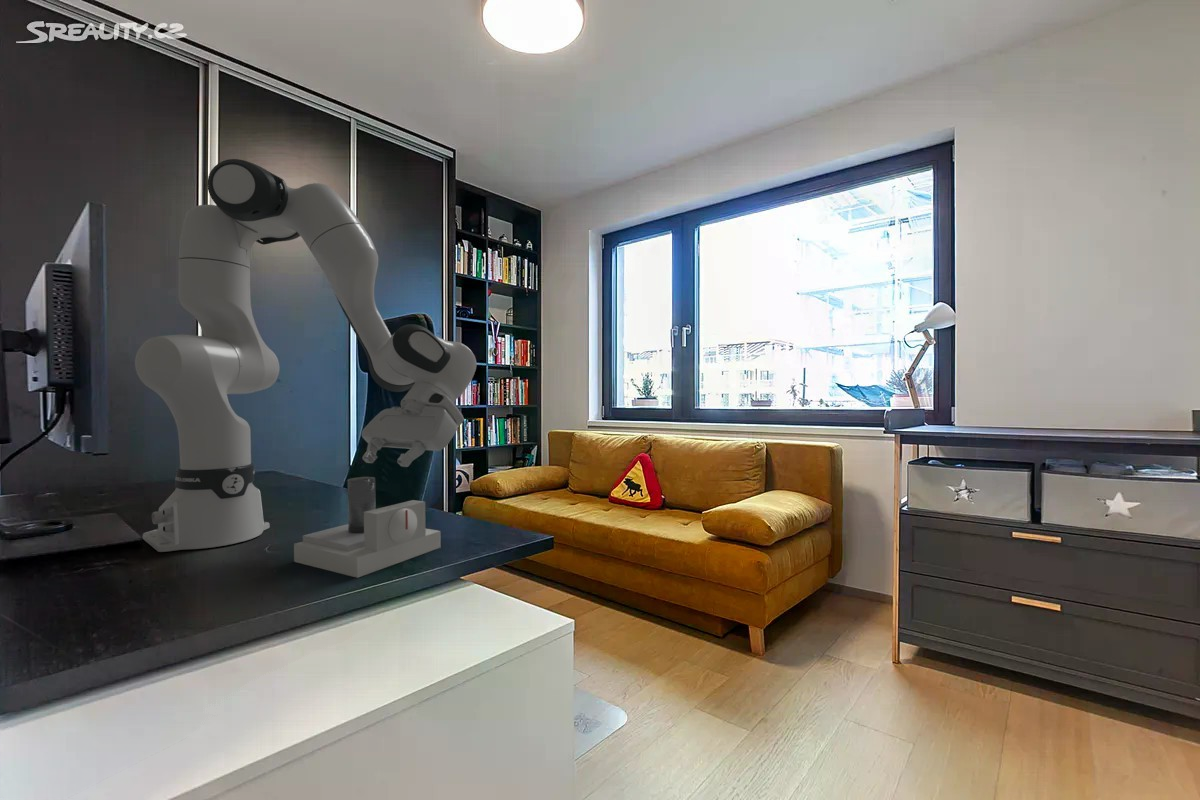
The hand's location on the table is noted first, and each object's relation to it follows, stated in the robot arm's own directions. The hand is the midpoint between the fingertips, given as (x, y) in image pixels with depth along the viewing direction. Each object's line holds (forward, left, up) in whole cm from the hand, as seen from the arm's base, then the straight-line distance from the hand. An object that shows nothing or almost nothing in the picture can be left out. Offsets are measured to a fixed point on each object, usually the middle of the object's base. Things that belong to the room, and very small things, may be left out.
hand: (383, 462), depth 95 cm
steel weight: (0, -5, -11) cm, 12 cm away
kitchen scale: (+2, -5, -15) cm, 16 cm away
